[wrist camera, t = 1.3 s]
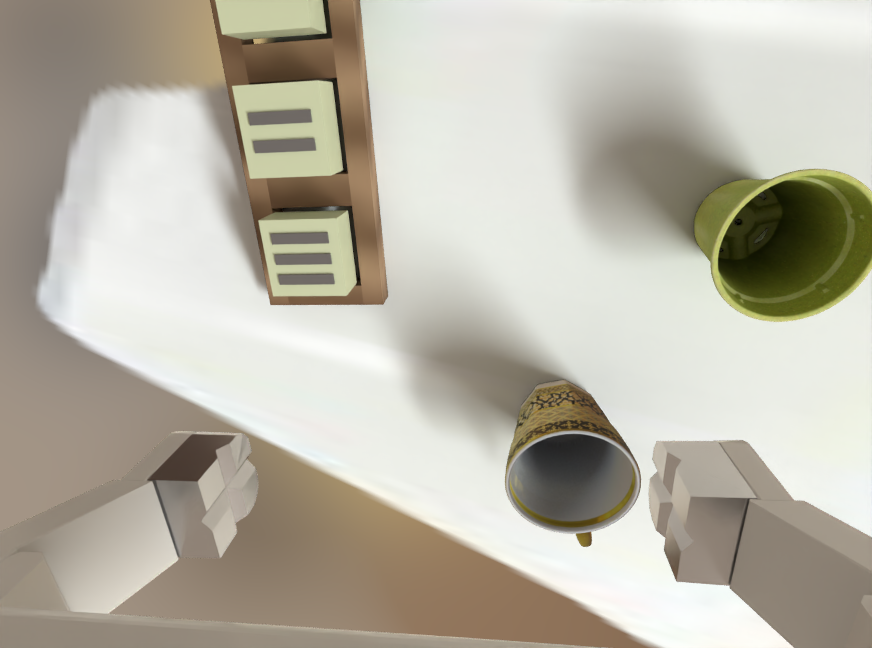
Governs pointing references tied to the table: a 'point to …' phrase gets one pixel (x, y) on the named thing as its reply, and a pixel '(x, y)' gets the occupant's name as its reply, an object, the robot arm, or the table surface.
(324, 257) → the tile three
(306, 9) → the tile one
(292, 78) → the frame
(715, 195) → the plant pot
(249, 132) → the tile two
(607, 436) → the ceramic cup
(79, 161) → the table surface
